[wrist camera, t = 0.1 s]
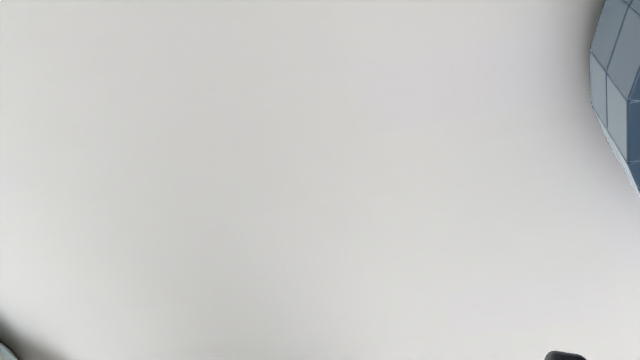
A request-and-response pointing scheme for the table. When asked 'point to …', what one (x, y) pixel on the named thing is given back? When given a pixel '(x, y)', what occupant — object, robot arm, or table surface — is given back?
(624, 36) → the bowl
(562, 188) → the table surface
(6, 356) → the salad plate
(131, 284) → the table surface
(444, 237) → the table surface
